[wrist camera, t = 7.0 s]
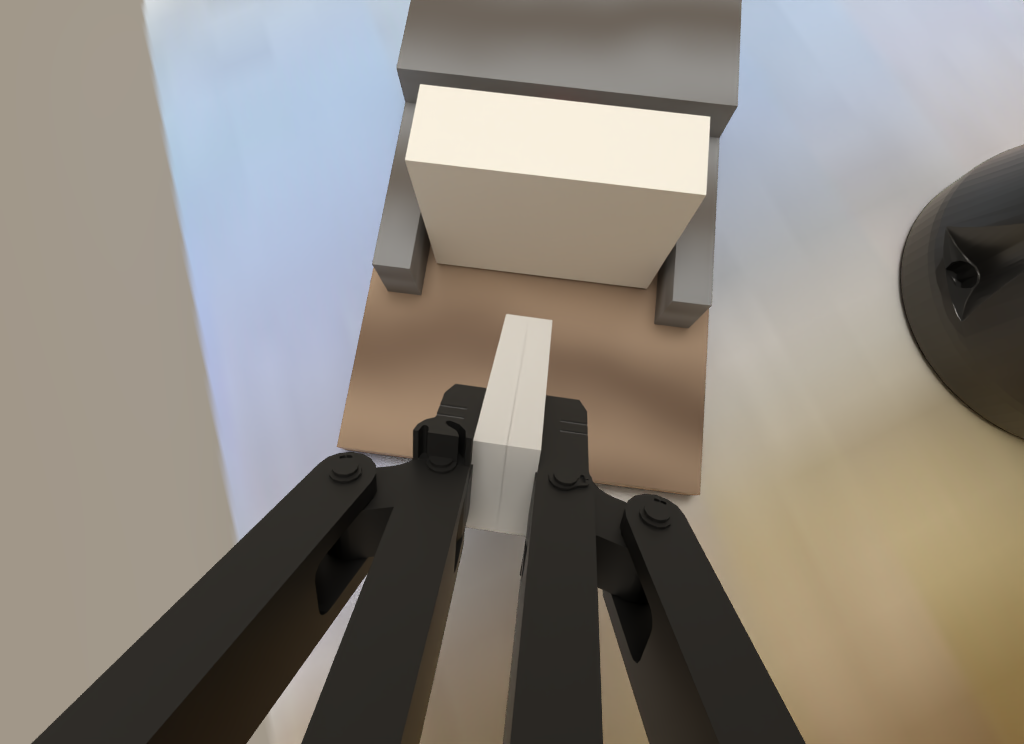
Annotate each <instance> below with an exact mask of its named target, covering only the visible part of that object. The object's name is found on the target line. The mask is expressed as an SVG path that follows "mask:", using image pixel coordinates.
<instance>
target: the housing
mask: <svg viewBox="0 0 1024 744" xmlns="http://www.w3.org/2000/svg"><path fill="white" fill-rule="evenodd" d="M741 3H742V0H411V2H410V7H409V12H408V16H407V21H406V26H405V31H404V35H403V40H402V45H401V49H400V54H399V59H398V63H397V72H398V76H399V79H400V83H401V87H402V91H403V95H404V98H405V107H404V112H403V117H402V122H401V127H400V131H399V136H398V141H397V146H396V151H395V156H394V161H393V165H392V170H391V175H390V180H389V185H388V190H387V195H386V199H385V204H384V209H383V214H382V219H381V224H380V229H379V233H378V238H377V243H376V248H375V253H374V258H373V263H372V265H373V266H374V268H373V273H372V278H371V282H370V287H369V292H368V297H367V302H366V307H365V312H364V317H363V321H362V326H361V331H360V336H359V341H358V346H357V351H356V356H355V361H354V365H353V370H352V375H351V380H350V385H349V390H348V395H347V400H346V404H345V409H344V414H343V419H342V424H341V429H340V434H339V439H338V444H337V447H339V448H342V449H345V450H351V451H358V452H366V453H373V454H381V455H388V456H396V457H404V458H411V459H413V429H414V428H415V427H416V425H417V424H418V423H420V422H422V421H424V420H425V419H429V418H433V417H435V416H436V415H437V411H438V409H439V406H440V403H441V401H442V398H443V395H444V393H445V392H446V391H447V390H448V389H450V388H451V387H452V386H453V385H454V384H462V385H469V386H476V387H483V388H487V386H488V382H489V378H490V374H491V370H492V367H493V363H494V359H495V355H496V351H497V347H498V344H499V340H500V336H501V332H502V328H503V324H504V321H505V317H506V314H511V315H518V316H525V317H533V318H540V319H547V320H552V331H551V342H550V353H549V365H548V376H547V387H546V395H549V396H556V397H563V398H570V399H577V400H580V401H581V403H582V404H583V406H584V407H585V409H586V410H587V422H588V424H587V426H588V457H589V474H590V476H591V477H592V480H593V483H600V484H608V485H615V486H623V487H630V488H638V489H646V490H653V491H661V492H668V493H676V494H683V495H700V484H701V463H702V443H703V422H704V401H705V380H706V359H707V338H708V318H709V308H710V307H711V306H712V285H713V264H714V243H715V221H716V200H717V179H718V157H719V138H720V136H721V134H722V132H723V131H724V129H725V127H726V125H727V124H728V122H729V120H730V118H731V117H732V115H733V113H734V111H735V110H736V108H737V106H738V81H739V55H740V29H741ZM420 84H423V85H432V86H441V87H450V88H459V89H468V90H477V91H486V92H494V93H503V94H512V95H521V96H530V97H539V98H548V99H557V100H566V101H575V102H584V103H592V104H601V105H610V106H619V107H628V108H637V109H646V110H655V111H664V112H673V113H682V114H690V115H699V116H708V117H710V132H709V152H708V171H707V190H706V196H705V198H704V199H703V201H702V203H701V204H700V206H699V207H698V209H697V211H696V212H695V214H694V215H693V217H692V218H691V220H690V222H689V223H688V225H687V226H686V228H685V229H684V231H683V233H682V234H681V236H680V237H679V239H678V241H677V242H676V244H675V245H674V247H673V248H672V250H671V252H670V253H669V255H668V256H667V258H666V259H665V261H664V263H663V264H662V266H661V267H660V269H659V271H658V272H657V274H656V275H655V277H654V278H653V280H652V282H651V283H650V285H649V286H648V288H647V289H645V288H637V287H628V286H620V285H612V284H604V283H596V282H587V281H579V280H571V279H563V278H554V277H546V276H538V275H530V274H522V273H513V272H505V271H497V270H489V269H480V268H472V267H464V266H456V265H448V264H439V263H437V262H436V259H435V256H434V253H433V249H432V246H431V243H430V240H429V236H428V233H427V230H426V227H425V224H424V220H423V217H422V214H421V211H420V207H419V204H418V201H417V198H416V194H415V191H414V188H413V185H412V181H411V178H410V175H409V172H408V168H407V165H406V162H405V157H406V152H407V147H408V142H409V137H410V132H411V127H412V122H413V117H414V112H415V107H416V102H417V97H418V92H419V87H420Z"/></svg>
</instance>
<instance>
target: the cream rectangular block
mask: <svg viewBox="0 0 1024 744" xmlns="http://www.w3.org/2000/svg"><path fill="white" fill-rule="evenodd" d="M709 132H710V117H708V116H699V115H690V114H682V113H673V112H664V111H655V110H646V109H637V108H628V107H619V106H610V105H601V104H592V103H584V102H575V101H566V100H557V99H548V98H539V97H530V96H521V95H512V94H503V93H494V92H486V91H477V90H468V89H459V88H450V87H441V86H432V85H423V84H420V87H419V92H418V97H417V102H416V107H415V112H414V117H413V122H412V127H411V132H410V137H409V142H408V147H407V152H406V157H405V162H406V165H407V168H408V172H409V175H410V178H411V181H412V185H413V188H414V191H415V194H416V198H417V201H418V204H419V207H420V211H421V214H422V217H423V220H424V224H425V227H426V230H427V233H428V236H429V240H430V243H431V246H432V249H433V253H434V256H435V259H436V262H437V263H439V264H448V265H456V266H464V267H472V268H480V269H489V270H497V271H505V272H513V273H522V274H530V275H538V276H546V277H554V278H563V279H571V280H579V281H587V282H596V283H604V284H612V285H620V286H628V287H637V288H645V289H647V288H648V286H649V285H650V283H651V282H652V280H653V278H654V277H655V275H656V274H657V272H658V271H659V269H660V267H661V266H662V264H663V263H664V261H665V259H666V258H667V256H668V255H669V253H670V252H671V250H672V248H673V247H674V245H675V244H676V242H677V241H678V239H679V237H680V236H681V234H682V233H683V231H684V229H685V228H686V226H687V225H688V223H689V222H690V220H691V218H692V217H693V215H694V214H695V212H696V211H697V209H698V207H699V206H700V204H701V203H702V201H703V199H704V198H705V196H706V190H707V171H708V152H709Z"/></svg>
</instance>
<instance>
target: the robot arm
mask: <svg viewBox="0 0 1024 744" xmlns="http://www.w3.org/2000/svg"><path fill="white" fill-rule="evenodd" d="M901 286H902V295H903V301H904V306H905V311H906V314H907V318H908V321H909V324H910V326H911V329H912V332H913V334H914V336H915V338H916V340H917V343H918V344H919V346H920V348H921V350H922V352H923V354H924V355H925V357H926V358H927V360H928V362H929V363H930V365H931V366H932V367H933V369H934V370H935V371H936V373H937V374H938V375H939V377H940V378H941V379H942V380H943V381H944V383H945V384H946V385H947V386H948V387H949V388H950V389H951V390H952V391H953V392H954V393H955V394H956V395H957V396H958V397H959V398H960V399H961V400H962V401H963V402H964V403H966V404H967V405H968V406H969V407H970V408H972V409H973V410H974V411H976V412H977V413H978V414H980V415H981V416H982V417H984V418H985V419H987V420H988V421H990V422H991V423H993V424H995V425H996V426H998V427H1000V428H1002V429H1003V430H1005V431H1007V432H1009V433H1011V434H1013V435H1016V436H1018V437H1020V438H1022V439H1024V145H1021V146H1018V147H1015V148H1012V149H1010V150H1007V151H1005V152H1002V153H1000V154H998V155H996V156H994V157H992V158H990V159H988V160H986V161H985V162H983V163H981V164H980V165H978V166H976V167H975V168H973V169H972V170H971V171H969V172H968V173H966V174H965V175H964V176H962V177H961V178H959V179H958V180H957V181H955V182H954V183H953V184H951V185H950V186H948V187H947V188H946V189H944V190H943V191H942V192H940V193H939V194H938V195H937V196H936V197H935V198H933V199H932V200H931V201H930V203H929V204H928V205H927V206H926V207H925V208H924V210H923V211H922V212H921V214H920V215H919V217H918V218H917V220H916V221H915V223H914V225H913V227H912V229H911V231H910V234H909V236H908V239H907V242H906V245H905V249H904V253H903V258H902V267H901ZM551 331H552V320H547V319H540V318H533V317H525V316H518V315H511V314H506V317H505V321H504V324H503V328H502V332H501V336H500V340H499V344H498V347H497V351H496V355H495V359H494V363H493V367H492V370H491V374H490V378H489V382H488V386H487V388H483V387H476V386H469V385H462V384H454V385H453V386H452V387H451V388H450V389H448V390H447V391H446V392H445V393H444V395H443V398H442V401H441V403H440V406H439V409H438V411H437V415H436V416H435V417H433V418H429V419H425V420H424V421H422V422H420V423H418V424H417V425H416V427H415V428H414V429H413V459H412V460H411V461H409V462H407V463H404V464H401V465H396V466H389V467H378V468H376V465H375V463H374V462H373V461H372V459H371V458H369V457H367V456H365V455H363V454H360V453H354V452H346V453H338V454H335V455H332V456H329V457H328V458H326V459H325V460H323V461H322V462H320V463H319V464H318V465H317V466H316V467H315V468H314V469H313V470H312V471H311V472H310V473H309V474H308V475H307V476H306V477H305V478H304V479H303V480H302V481H301V482H300V483H299V484H298V485H297V486H296V487H295V488H293V489H292V490H291V491H290V492H289V493H288V494H287V495H286V496H285V497H284V498H283V499H282V500H281V501H280V502H279V503H278V504H277V505H276V506H275V507H274V508H273V509H272V510H271V511H270V512H269V513H268V514H267V515H266V516H265V517H264V518H263V519H262V520H261V521H260V522H259V523H258V524H256V525H255V526H254V527H253V528H252V529H251V530H250V531H249V532H248V533H247V534H246V535H245V536H244V537H243V538H242V539H241V540H240V541H239V542H238V543H237V544H236V545H235V546H234V547H233V548H232V549H231V550H230V551H229V552H228V553H227V554H226V555H225V556H224V557H223V558H222V559H221V560H220V561H219V562H217V563H216V564H215V565H214V566H213V567H212V568H211V569H210V570H209V571H208V572H207V573H206V574H205V575H204V576H203V577H202V578H201V579H200V580H199V581H198V582H197V583H196V584H195V585H194V586H193V587H192V588H191V589H190V590H189V591H188V592H187V593H186V594H185V595H184V596H183V597H181V598H180V599H179V600H178V601H177V602H176V603H175V604H174V605H173V606H172V607H171V608H170V609H169V610H168V611H167V612H166V613H165V614H164V615H163V616H162V617H161V618H160V619H159V620H158V621H157V622H156V623H155V624H154V625H153V626H152V627H151V628H150V629H149V630H148V631H147V632H146V633H144V635H143V636H141V637H140V638H139V639H138V640H137V641H136V642H135V643H134V644H133V645H132V646H131V647H130V648H129V649H128V650H127V651H126V652H125V653H124V654H123V655H122V656H121V657H120V658H119V659H118V660H117V661H116V662H115V663H114V664H113V665H112V666H111V667H110V668H109V669H107V670H106V671H105V672H104V673H103V674H102V675H101V676H100V677H99V678H98V679H97V680H96V681H95V682H94V683H93V684H92V685H91V686H90V687H89V688H88V689H87V690H86V691H85V692H84V693H83V694H82V695H81V696H80V697H79V698H78V699H77V700H76V701H75V702H74V703H73V704H72V705H70V707H68V709H66V710H65V711H64V712H63V713H62V714H61V716H59V717H58V718H57V719H56V720H55V721H54V722H53V723H52V724H51V725H50V726H49V727H48V728H47V729H46V730H45V731H44V732H43V733H42V734H41V735H40V736H39V737H38V738H37V739H36V740H35V741H34V742H33V743H32V744H246V743H247V742H248V741H249V739H250V738H251V736H252V735H253V734H254V732H255V731H256V729H257V728H258V726H259V725H260V724H261V722H262V721H263V719H264V718H265V717H266V715H267V714H268V712H269V711H270V710H271V708H272V707H273V705H274V704H275V703H276V701H277V700H278V698H279V697H280V696H281V694H282V693H283V691H284V690H285V689H286V687H287V686H288V684H289V683H290V682H291V680H292V679H293V677H294V676H295V675H296V673H297V672H298V670H299V669H300V668H301V666H302V665H303V663H304V662H305V661H306V659H307V658H308V656H309V655H310V654H311V652H312V651H313V649H314V648H315V646H316V645H317V644H318V642H319V641H320V639H321V638H322V637H323V635H324V634H325V632H326V631H327V630H328V628H329V627H330V625H331V624H332V623H333V621H334V620H335V618H336V617H337V616H338V614H339V613H340V611H341V610H342V609H343V607H344V606H345V604H346V603H347V602H348V600H349V599H350V597H351V596H352V595H353V593H354V592H355V590H356V589H357V588H358V586H359V585H360V583H361V582H362V580H363V579H364V578H365V576H366V575H367V577H366V579H365V582H364V585H363V587H362V590H361V592H360V595H359V597H358V600H357V602H356V605H355V608H354V610H353V613H352V615H351V618H350V620H349V623H348V625H347V628H346V631H345V633H344V636H343V638H342V641H341V643H340V646H339V649H338V651H337V654H336V656H335V659H334V661H333V664H332V666H331V669H330V672H329V674H328V677H327V679H326V682H325V684H324V687H323V689H322V692H321V695H320V697H319V700H318V702H317V705H316V707H315V710H314V713H313V715H312V718H311V720H310V723H309V725H308V728H307V730H306V733H305V736H304V738H303V741H302V743H301V744H419V742H420V738H421V733H422V729H423V725H424V720H425V716H426V711H427V707H428V702H429V698H430V693H431V689H432V684H433V680H434V675H435V671H436V666H437V662H438V657H439V653H440V648H441V644H442V639H443V635H444V630H445V626H446V621H447V617H448V612H449V608H450V603H451V599H452V594H453V590H454V585H455V581H456V576H457V572H458V567H459V563H460V558H461V554H462V549H463V543H464V531H465V526H466V527H467V528H473V529H480V530H487V531H493V532H500V533H507V534H513V535H520V536H526V541H525V547H524V553H523V559H522V565H521V571H520V576H521V580H520V589H519V598H518V608H517V617H516V626H515V635H514V645H513V654H512V663H511V672H510V681H509V691H508V700H507V709H506V718H505V728H504V737H503V744H603V732H602V703H601V674H600V646H599V617H598V588H600V589H602V590H603V597H604V600H605V603H606V606H607V610H608V613H609V616H610V619H611V622H612V626H613V629H614V632H615V635H616V638H617V642H618V645H619V648H620V651H621V654H622V658H623V661H624V664H625V667H626V670H627V674H628V677H629V680H630V683H631V686H632V689H633V693H634V696H635V699H636V702H637V705H638V709H639V712H640V715H641V718H642V721H643V725H644V728H645V731H646V734H647V737H648V741H649V744H806V743H805V742H804V740H803V738H802V736H801V734H800V732H799V730H798V728H797V726H796V725H795V723H794V721H793V719H792V717H791V715H790V713H789V711H788V710H787V708H786V706H785V704H784V702H783V700H782V698H781V696H780V694H779V693H778V691H777V689H776V687H775V685H774V683H773V681H772V679H771V677H770V676H769V674H768V672H767V670H766V668H765V666H764V664H763V662H762V660H761V659H760V657H759V655H758V653H757V651H756V649H755V647H754V645H753V644H752V642H751V640H750V638H749V636H748V634H747V632H746V630H745V628H744V627H743V625H742V623H741V621H740V619H739V617H738V615H737V613H736V611H735V610H734V608H733V606H732V604H731V602H730V600H729V598H728V596H727V595H726V593H725V591H724V589H723V587H722V585H721V583H720V581H719V579H718V578H717V576H716V574H715V572H714V570H713V568H712V566H711V564H710V562H709V561H708V559H707V557H706V555H705V553H704V551H703V549H702V547H701V546H700V544H699V542H698V540H697V538H696V536H695V534H694V532H693V530H692V529H691V527H690V525H689V523H688V521H687V519H686V517H685V515H684V514H683V513H682V511H681V510H680V509H679V508H678V506H676V505H675V504H673V503H672V502H671V501H669V500H668V499H665V498H662V497H660V496H657V495H651V494H642V495H637V496H634V497H633V498H631V499H630V500H628V502H627V503H626V502H624V501H621V500H619V499H616V498H614V497H612V496H610V495H608V494H606V493H604V492H603V491H602V490H600V489H599V488H598V487H597V486H596V485H595V484H594V483H593V480H592V477H591V476H590V474H589V457H588V426H587V424H588V422H587V410H586V409H585V407H584V406H583V404H582V403H581V401H580V400H577V399H570V398H563V397H556V396H549V395H546V387H547V376H548V365H549V353H550V342H551ZM466 522H467V523H466ZM367 573H368V574H367ZM597 587H598V588H597Z"/></svg>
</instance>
